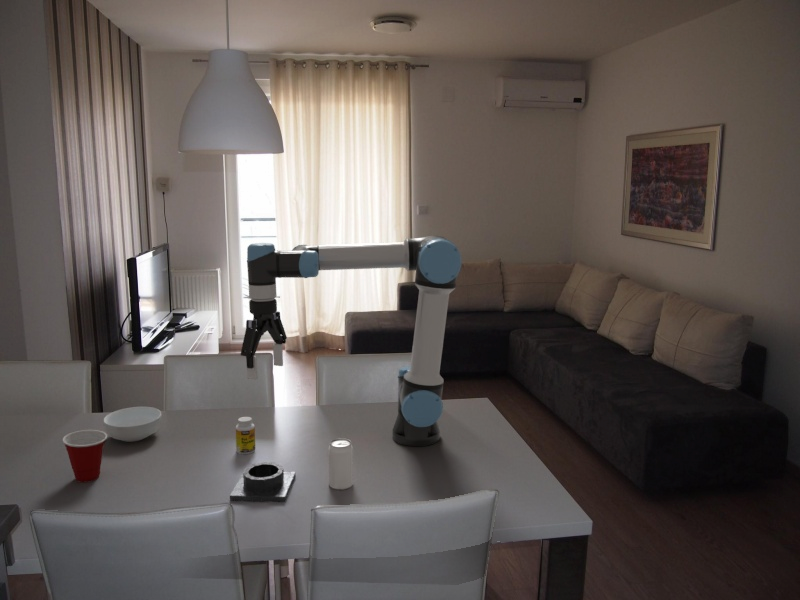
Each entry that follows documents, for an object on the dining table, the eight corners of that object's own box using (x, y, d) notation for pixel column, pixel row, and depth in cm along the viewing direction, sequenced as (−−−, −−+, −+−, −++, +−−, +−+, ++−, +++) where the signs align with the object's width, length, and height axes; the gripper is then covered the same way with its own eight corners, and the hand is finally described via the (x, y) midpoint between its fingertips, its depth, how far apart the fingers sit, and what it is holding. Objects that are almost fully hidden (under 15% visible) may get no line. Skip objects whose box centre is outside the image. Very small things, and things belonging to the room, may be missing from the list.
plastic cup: (103, 485, 167) (99, 443, 165) (59, 488, 166) (55, 445, 163) (115, 467, 178) (112, 427, 175) (75, 469, 176) (71, 429, 174)
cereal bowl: (92, 442, 195) (90, 420, 193) (133, 423, 210) (132, 403, 209) (135, 451, 188) (133, 429, 187) (174, 431, 204) (172, 410, 202)
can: (329, 479, 172) (328, 438, 169) (352, 478, 172) (352, 437, 170) (328, 491, 165) (327, 448, 163) (353, 490, 166) (353, 447, 164)
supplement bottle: (240, 456, 185) (238, 423, 184) (233, 449, 190) (232, 417, 188) (258, 452, 188) (257, 419, 187) (251, 445, 193) (250, 414, 191)
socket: (295, 476, 173) (295, 459, 172) (284, 502, 159) (284, 483, 158) (244, 475, 173) (244, 458, 173) (230, 501, 160) (229, 482, 159)
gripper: (274, 290, 189) (277, 359, 193) (224, 306, 166) (228, 383, 170) (296, 292, 186) (299, 361, 190) (249, 308, 163) (252, 386, 167)
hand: (265, 371), depth 180 cm, fingers open, 13 cm apart
